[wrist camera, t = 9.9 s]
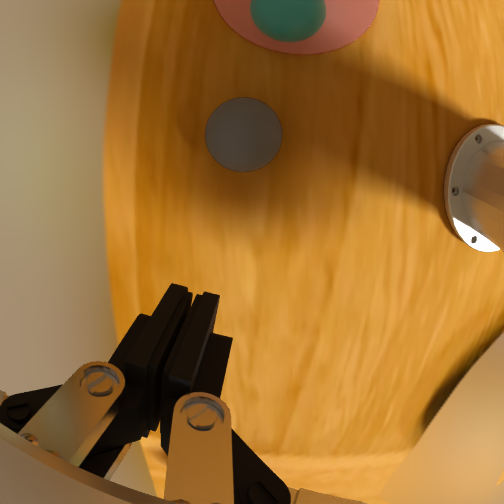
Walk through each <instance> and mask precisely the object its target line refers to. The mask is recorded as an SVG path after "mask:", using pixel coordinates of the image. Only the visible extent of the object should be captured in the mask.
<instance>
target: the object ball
mask: <svg viewBox="0 0 504 504" xmlns="http://www.w3.org/2000/svg"><path fill="white" fill-rule="evenodd" d="M250 14H251V17H252V20H253V22H254V24H255V25H256V27H257V28H258V29H259V30H260V31H261V32H262V33H263V34H265V35H266V36H268V37H270V38H272V39H274V40H277V41H282V42H298V41H302V40H305V39H307V38H309V37H311V36H313V35H314V34H315V33H316V32H318V31H319V29H320V28H321V27H322V25H323V23H324V21H325V18H326V5H325V1H324V0H251V3H250Z"/></svg>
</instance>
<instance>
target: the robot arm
mask: <svg viewBox="0 0 504 504" xmlns="http://www.w3.org/2000/svg"><path fill="white" fill-rule="evenodd" d="M452 189H453V190H452ZM444 200H445V208H446V212H447V216H448V219H449V221H450V224H451V226H452V228H453V229H454V231H455V232H456V234H457V236H458V237H460V238H461V239H462V240H463V241H464V242H465V243H466V244H467V245H469V246H470V247H472V248H474V249H476V250H479V251H484V252H491V251H497V250H499V249H501V250H502V251H503V252H504V126H502V125H498V124H485V125H480V126H478V127H476V128H473V129H472V130H470V131H469V132H468V133H467V134H465V135H464V136H463V138H462V139H461V140H460V141H459V142H458V144H457V145H456V147H455V149H454V151H453V153H452V155H451V157H450V160H449V163H448V166H447V170H446V175H445V182H444ZM192 296H193V293H191V292H188V288H187V287H185V286H181V285H177V284H173V283H172V284H171V285H170V286H169V288H168V290H167V291H166V293H165V294H164V296H163V298H162V299H161V301H160V302H159V304H158V306H157V307H156V309H155V311H154V312H153V314H152V316H148V315H145V314H142V313H141V314H139V315H138V317H137V318H136V320H135V321H134V323H133V324H132V326H131V327H130V329H129V330H128V332H127V333H126V335H125V336H124V338H123V339H122V341H121V343H120V344H119V346H118V347H117V349H116V350H115V352H114V354H113V355H112V357H111V359H110V360H109V361H108V363H107V362H101V361H96V362H89V363H87V364H84V365H83V366H81V367H80V368H79V369H78V370H77V371H76V372H75V373H74V374H73V375H72V376H71V377H70V378H69V379H68V380H67V381H66V382H65V383H64V384H62V385H58V386H53V387H49V388H44V389H39V390H34V391H29V392H24V393H19V394H15V395H12V396H7V394H6V392H4V391H1V390H0V504H366V503H364V502H361V501H356V500H350V499H345V498H340V497H335V496H331V495H327V494H322V493H318V492H314V491H310V490H306V489H303V488H300V489H299V490H296V489H293V488H289V487H287V486H286V485H285V483H284V482H283V481H282V480H281V479H280V478H279V477H278V476H277V475H276V474H275V473H274V472H273V471H272V470H271V469H270V468H269V467H268V466H267V465H266V464H265V463H264V462H263V461H262V460H261V459H260V458H259V457H258V456H257V455H256V454H255V453H254V452H253V451H252V450H251V449H250V448H249V447H248V446H247V445H246V443H245V442H244V441H243V440H242V439H241V438H240V437H239V436H238V435H237V434H236V433H235V431H234V430H233V429H232V428H231V414H230V410H229V408H228V407H227V405H226V403H224V402H223V401H222V400H221V399H220V396H221V391H222V386H223V382H224V377H225V373H226V368H227V363H228V359H229V354H230V349H231V345H232V340H233V338H231V337H227V336H223V335H219V334H215V333H213V329H214V324H215V319H216V314H217V309H218V304H219V298H220V295H217V294H212V293H208V292H204V293H203V295H199V294H197V295H196V297H195V299H194V301H193V304H192V306H191V303H192ZM159 422H160V433H161V447H162V448H163V450H164V451H165V453H166V454H167V456H168V461H167V471H166V481H165V491H164V499H161V498H158V497H155V496H151V495H148V494H145V493H142V492H139V491H136V490H133V489H130V488H127V487H125V486H122V485H119V484H117V483H114V482H111V481H109V480H110V479H111V477H112V476H113V474H114V472H115V471H116V469H117V468H118V466H119V465H120V463H121V462H122V460H123V458H124V457H125V455H126V454H127V452H128V450H129V449H130V446H131V444H132V442H135V441H138V440H141V437H142V436H143V437H146V438H147V437H148V435H149V432H150V430H152V431H156V430H157V427H158V425H159Z"/></svg>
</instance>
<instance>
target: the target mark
mask: <svg viewBox="0 0 504 504" xmlns="http://www.w3.org/2000/svg"><path fill="white" fill-rule="evenodd" d="M324 1H325V5H326V18H325V21H324V23H323V25H322V27H321V28H320V29H319V31H318V32H316V33H315V34H314V35H313V36H311V37H309V38H307V39H305V40H302V41H298V42H282V41H277V40H274V39H272V38H270V37H268V36H266V35H265V34H263V33H262V32H261V31H260V30H259V29H258V28H257V27H256V25H255V24H254V22H253V20H252V17H251V14H250V3H251V0H214V3H215V5H216V7H217V10H218V11H219V13H220V15H221V16H222V18H223V19H224V20H225V22H226V23H227V24H228V25H229V26H230V27H231V28H232V29H233V30H234V31H235V32H236V33H238V34H239V35H241V36H242V37H244V38H245V39H247V40H249V41H251V42H252V43H254V44H257V45H259V46H261V47H264V48H267V49H270V50H273V51H277V52H282V53H288V54H319V53H325V52H329V51H333V50H336V49H339V48H342V47H344V46H346V45H348V44H350V43H351V42H353V41H354V40H356V39H357V38H359V37H360V36H361V35H362V34H363V33H364V32H365V31H366V30H367V29H368V28H369V26H370V25H371V23H372V22H373V20H374V18H375V16H376V13H377V10H378V3H379V0H324Z"/></svg>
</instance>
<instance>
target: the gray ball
mask: <svg viewBox="0 0 504 504" xmlns="http://www.w3.org/2000/svg"><path fill="white" fill-rule="evenodd" d="M205 140H206V145H207V148H208V150H209V152H210V154H211V155H212V157H213V158H214V159H215V160H216V161H217V162H218V163H219V164H220V165H222V166H223V167H225V168H227V169H230V170H233V171H237V172H249V171H254V170H257V169H260V168H262V167H264V166H265V165H267V164H268V163H269V162H270V161H271V160H272V159H273V158H274V157H275V156H276V154H277V152H278V151H279V148H280V145H281V142H282V128H281V124H280V121H279V119H278V117H277V115H276V114H275V112H274V111H273V110H272V109H271V108H270V107H269V106H268V105H266V104H265V103H263V102H261V101H259V100H256V99H252V98H245V97H243V98H235V99H232V100H229V101H226V102H224V103H223V104H221V105H220V106H219V107H218V108H216V109H215V110H214V112H213V113H212V114H211V116H210V118H209V120H208V122H207V125H206V130H205Z"/></svg>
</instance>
